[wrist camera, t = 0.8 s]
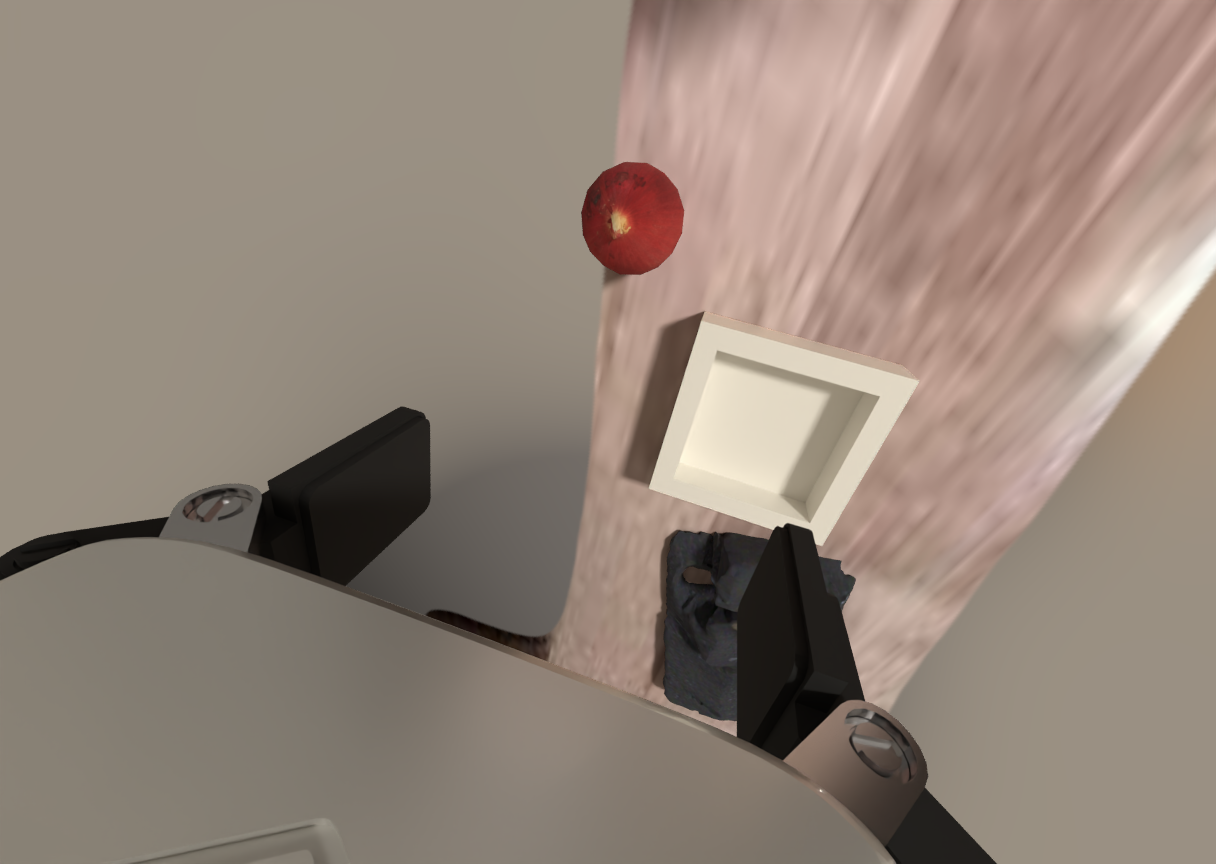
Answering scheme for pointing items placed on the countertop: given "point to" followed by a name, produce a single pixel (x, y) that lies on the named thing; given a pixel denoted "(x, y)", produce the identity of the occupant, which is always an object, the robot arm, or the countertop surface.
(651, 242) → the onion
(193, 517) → the robot arm
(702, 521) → the countertop surface
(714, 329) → the dish
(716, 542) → the dark grey folded cloth
